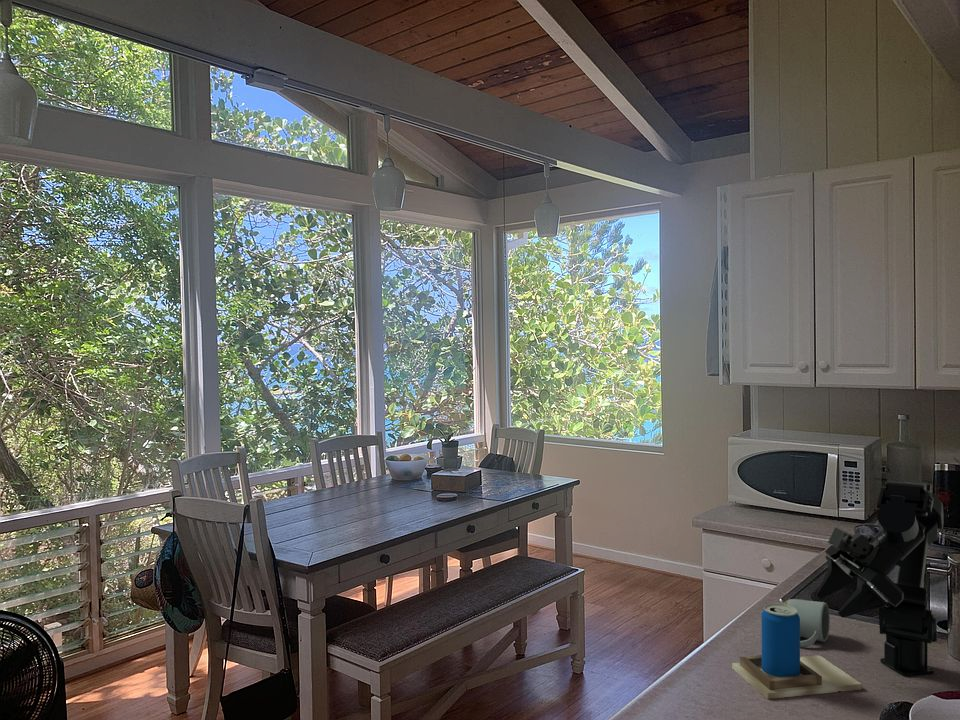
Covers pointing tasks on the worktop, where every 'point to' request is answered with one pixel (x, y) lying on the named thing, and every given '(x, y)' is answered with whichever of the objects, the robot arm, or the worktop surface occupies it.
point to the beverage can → (780, 641)
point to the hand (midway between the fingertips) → (828, 606)
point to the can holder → (796, 678)
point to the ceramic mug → (811, 620)
